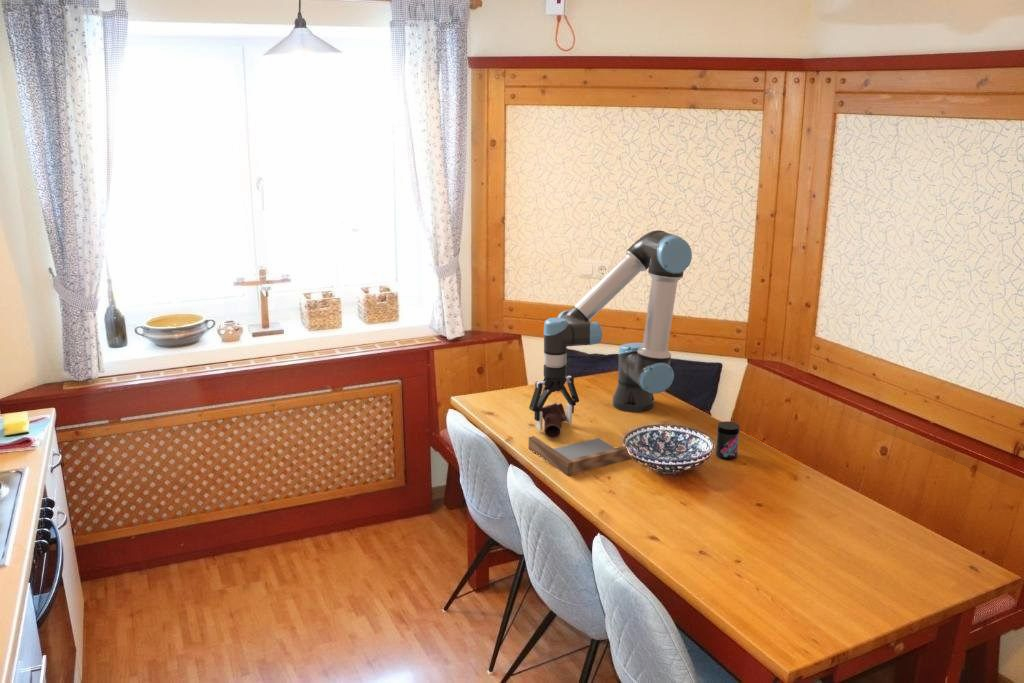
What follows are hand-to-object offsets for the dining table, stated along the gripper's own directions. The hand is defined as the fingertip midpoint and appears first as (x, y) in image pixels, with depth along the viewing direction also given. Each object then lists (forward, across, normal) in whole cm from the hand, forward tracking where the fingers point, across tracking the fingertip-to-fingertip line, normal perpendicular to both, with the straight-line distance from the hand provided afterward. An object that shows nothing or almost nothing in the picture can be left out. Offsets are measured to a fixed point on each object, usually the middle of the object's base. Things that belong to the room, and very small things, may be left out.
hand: (554, 425), depth 293 cm
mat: (+1, +2, +20) cm, 20 cm away
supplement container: (+1, -35, +46) cm, 58 cm away
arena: (+1, +4, +21) cm, 22 cm away
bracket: (+1, +1, 0) cm, 2 cm away
